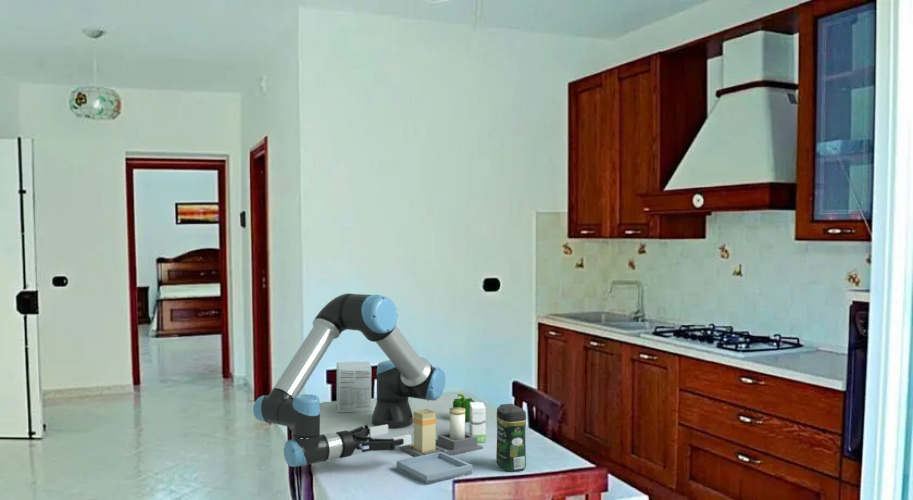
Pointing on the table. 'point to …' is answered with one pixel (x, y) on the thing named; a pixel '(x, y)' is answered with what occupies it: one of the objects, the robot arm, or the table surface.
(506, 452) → the coffee jar
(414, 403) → the table surface
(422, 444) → the beige tall box
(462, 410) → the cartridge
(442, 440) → the holder block
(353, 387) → the supplement box
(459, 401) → the bell pepper
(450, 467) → the tray
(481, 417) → the ink box
